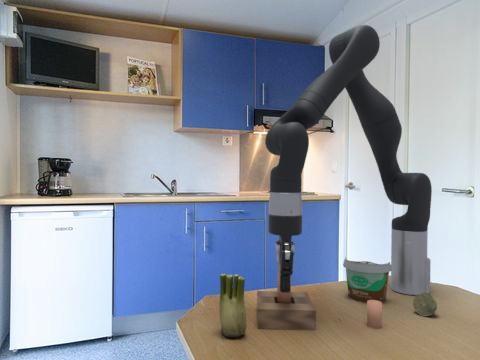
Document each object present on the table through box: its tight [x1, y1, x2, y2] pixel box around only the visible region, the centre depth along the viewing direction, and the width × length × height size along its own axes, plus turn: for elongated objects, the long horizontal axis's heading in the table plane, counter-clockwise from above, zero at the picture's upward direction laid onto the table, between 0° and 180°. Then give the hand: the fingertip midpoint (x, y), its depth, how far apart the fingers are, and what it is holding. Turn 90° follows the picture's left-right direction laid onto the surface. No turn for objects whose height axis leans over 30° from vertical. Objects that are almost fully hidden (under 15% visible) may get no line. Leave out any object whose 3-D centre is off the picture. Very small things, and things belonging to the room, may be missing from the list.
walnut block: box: [256, 290, 317, 331], centre depth 80 cm, size 12×12×4 cm
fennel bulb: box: [219, 273, 248, 338], centre depth 71 cm, size 6×5×12 cm
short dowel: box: [366, 300, 383, 329], centre depth 76 cm, size 3×3×5 cm
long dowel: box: [276, 258, 292, 303], centre depth 80 cm, size 3×3×10 cm
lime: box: [412, 293, 438, 317], centre depth 83 cm, size 4×5×5 cm
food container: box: [342, 256, 392, 304], centre depth 92 cm, size 12×6×10 cm, turn 62°
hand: (284, 289), depth 80 cm, fingers closed on long dowel, 3 cm apart
